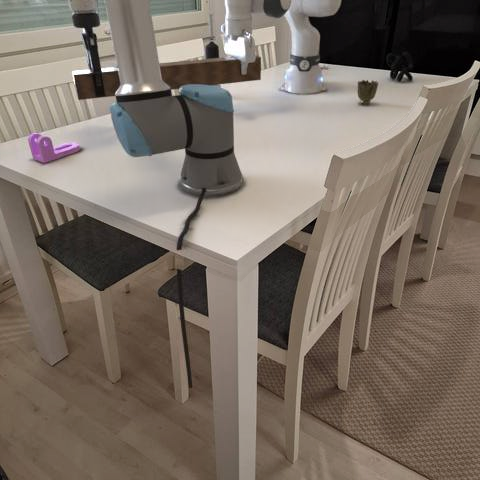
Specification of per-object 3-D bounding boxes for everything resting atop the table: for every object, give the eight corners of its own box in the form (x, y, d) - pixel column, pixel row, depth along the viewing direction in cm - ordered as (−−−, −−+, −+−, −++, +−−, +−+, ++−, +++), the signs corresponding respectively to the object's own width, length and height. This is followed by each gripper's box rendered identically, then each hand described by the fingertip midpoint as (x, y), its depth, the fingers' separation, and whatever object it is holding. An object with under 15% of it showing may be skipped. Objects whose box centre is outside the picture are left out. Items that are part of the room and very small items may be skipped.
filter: (222, 96, 181) (219, 14, 165) (209, 97, 179) (205, 14, 164) (218, 93, 186) (215, 12, 170) (205, 94, 184) (200, 13, 168)
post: (78, 100, 137) (73, 74, 133) (76, 96, 141) (71, 71, 137) (260, 79, 156) (261, 57, 152) (254, 76, 160) (254, 54, 156)
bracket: (44, 163, 123) (37, 138, 119) (33, 158, 126) (26, 134, 122) (83, 149, 132) (78, 126, 128) (72, 145, 135) (67, 122, 131)
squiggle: (400, 92, 202) (376, 71, 205) (417, 76, 202) (392, 56, 205) (405, 81, 191) (380, 59, 194) (423, 64, 191) (397, 42, 194)
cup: (352, 105, 167) (355, 83, 163) (357, 100, 172) (360, 79, 168) (372, 107, 164) (375, 85, 160) (377, 102, 169) (380, 80, 165)
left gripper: (102, 14, 122) (116, 99, 135) (94, 8, 137) (107, 86, 149) (73, 15, 120) (90, 102, 132) (68, 10, 135) (84, 88, 147)
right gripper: (260, 31, 140) (260, 77, 148) (236, 24, 156) (237, 66, 164) (241, 32, 138) (242, 79, 146) (219, 25, 154) (221, 67, 162)
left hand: (99, 93), depth 141 cm, fingers closed on post, 5 cm apart
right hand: (239, 72), depth 155 cm, fingers closed on post, 5 cm apart
